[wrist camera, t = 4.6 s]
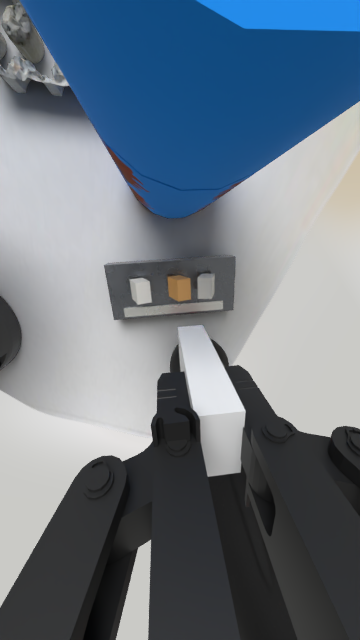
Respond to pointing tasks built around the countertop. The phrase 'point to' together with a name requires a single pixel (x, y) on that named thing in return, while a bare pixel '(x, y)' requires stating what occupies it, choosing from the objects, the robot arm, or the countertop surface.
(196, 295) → the breaker panel
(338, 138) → the countertop surface
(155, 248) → the countertop surface
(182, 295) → the block
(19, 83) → the egg carton
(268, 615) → the cola bottle
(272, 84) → the thermos
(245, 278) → the countertop surface
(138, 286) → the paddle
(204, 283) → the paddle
